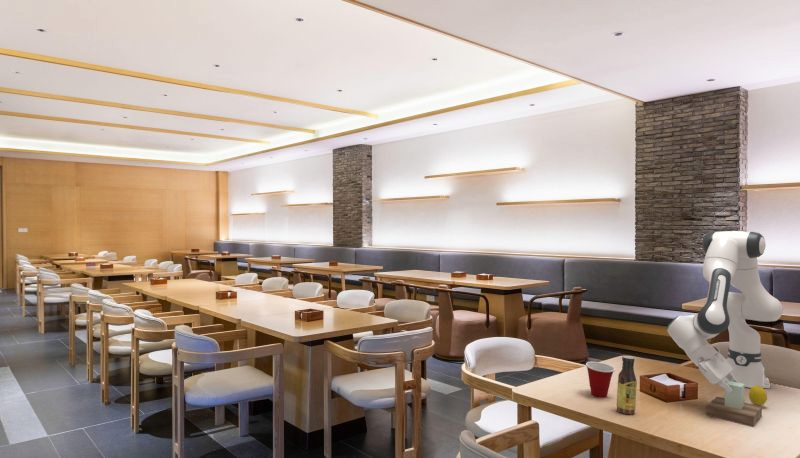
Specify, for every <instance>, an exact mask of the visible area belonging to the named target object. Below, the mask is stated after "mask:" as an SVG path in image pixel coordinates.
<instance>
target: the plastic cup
mask: <svg viewBox="0 0 800 458" xmlns="http://www.w3.org/2000/svg"><path fill="white" fill-rule="evenodd" d="M585 365H586V370H587V375H588V382H589V387H590V388H589V389H590V394H591V396H593V397H595V398H599V399H602V398H603V399H604V398H607V397H608V393H609V389H610V385H611V381H612V377H613V373H614V372H615V371H616V367H614V366H613V365H610V364H607V363H604V362H599V361H588V362H586V363H585Z"/></svg>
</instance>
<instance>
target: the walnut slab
mask: <svg viewBox="0 0 800 458" xmlns="http://www.w3.org/2000/svg"><path fill="white" fill-rule="evenodd" d="M762 410H763V407H762V405H760V406H757V405H755V404H753V403H747V402H744V407H743V408H742V409H741V410H740V409H736V408H732V407H727V406H725V397H720V396H716V397H715V398H714V399H712V400H711V401H710V402H709V403H708V404H707V405H706V412H705V413H706V416H708V417H713V418H716V419H720V420H724V421H729V422H731V423H735V424H741V425H744V426H748V427H752V428H754V427H755V425H756V424H757V423H758V422H759V420H760V419H761V417H762V415H763V414H762V412H763V411H762Z"/></svg>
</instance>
